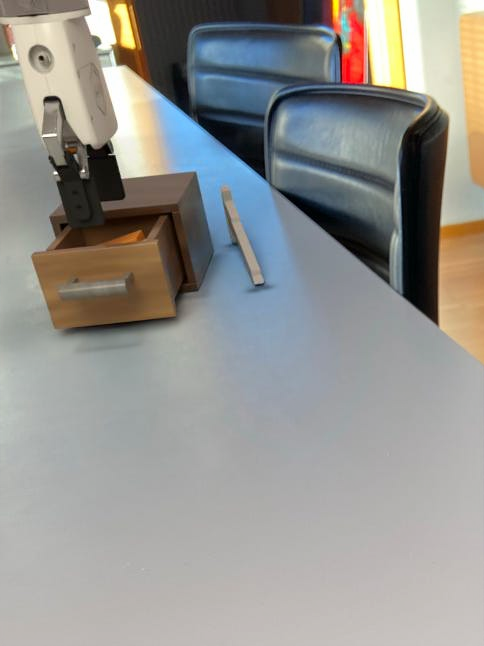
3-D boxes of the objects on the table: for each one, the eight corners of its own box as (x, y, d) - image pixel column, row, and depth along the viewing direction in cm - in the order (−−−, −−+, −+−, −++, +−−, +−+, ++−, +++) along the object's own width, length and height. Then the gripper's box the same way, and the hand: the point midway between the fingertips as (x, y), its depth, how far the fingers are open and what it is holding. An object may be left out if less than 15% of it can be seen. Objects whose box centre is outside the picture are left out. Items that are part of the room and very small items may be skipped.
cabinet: (198, 290, 105) (177, 203, 100) (76, 303, 105) (48, 216, 100) (214, 251, 117) (196, 171, 112) (104, 262, 116) (81, 182, 111)
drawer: (169, 331, 93) (149, 255, 89) (43, 345, 92) (17, 269, 88) (194, 274, 107) (177, 206, 103) (85, 285, 107) (64, 217, 103)
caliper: (229, 240, 120) (217, 183, 117) (239, 238, 121) (227, 182, 117) (255, 287, 105) (242, 224, 101) (265, 286, 105) (253, 222, 101)
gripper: (60, 4, 79) (121, 234, 89) (106, -13, 93) (154, 188, 103) (-37, 12, 79) (35, 241, 89) (23, -6, 93) (80, 194, 103)
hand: (99, 212), depth 96 cm, fingers open, 9 cm apart
